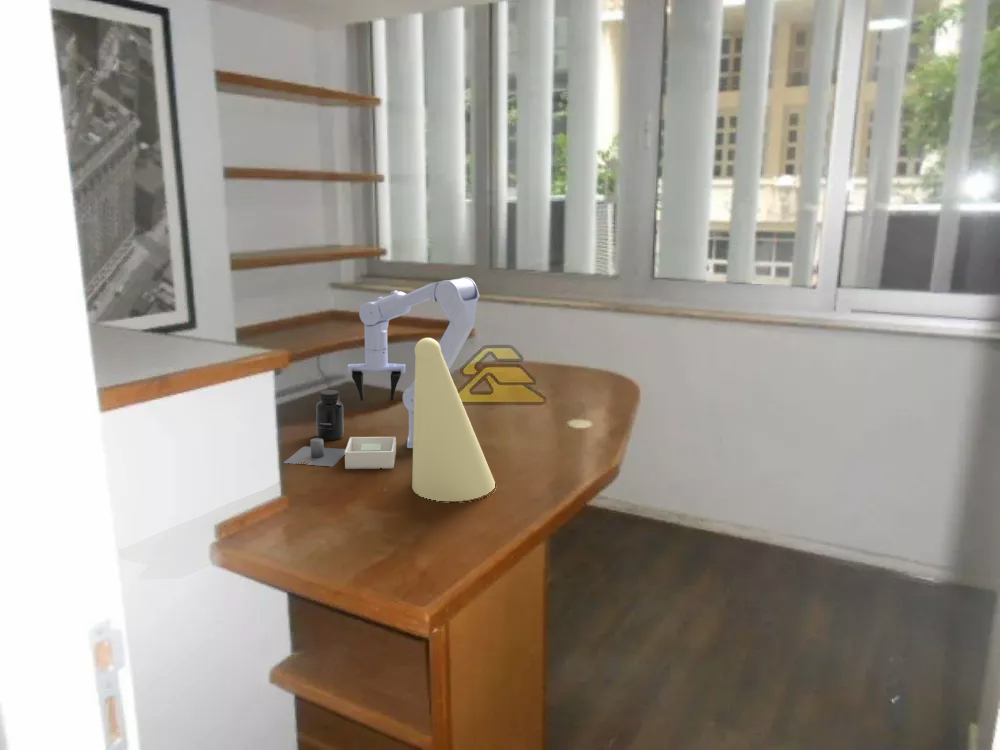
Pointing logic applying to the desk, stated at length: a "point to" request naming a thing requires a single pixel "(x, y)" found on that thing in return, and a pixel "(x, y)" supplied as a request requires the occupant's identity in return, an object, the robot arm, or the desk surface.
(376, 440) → the white open box
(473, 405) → the desk surface
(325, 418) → the supplement bottle
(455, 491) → the cone light
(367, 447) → the sage block
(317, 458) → the gray lid
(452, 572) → the desk surface
